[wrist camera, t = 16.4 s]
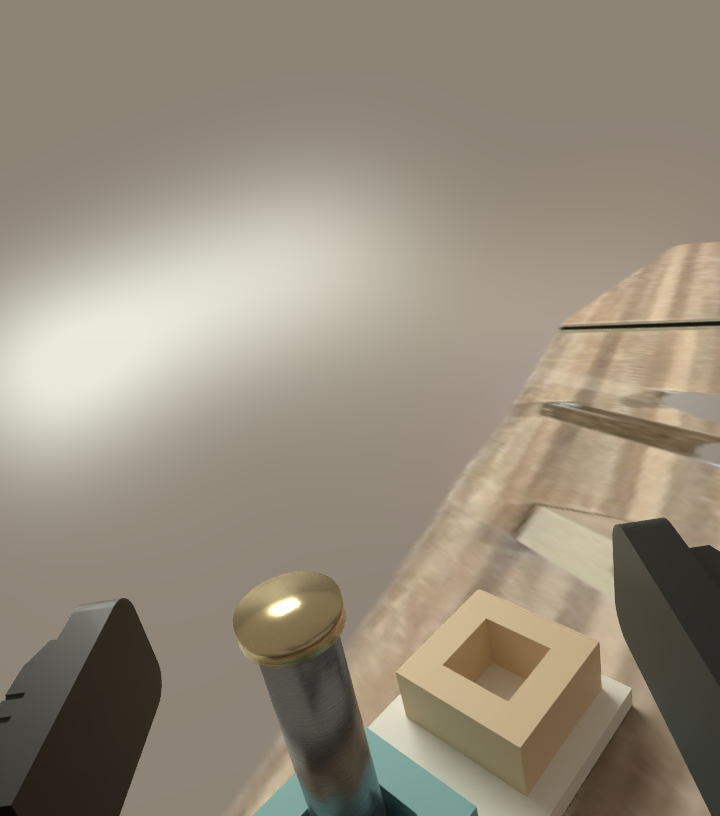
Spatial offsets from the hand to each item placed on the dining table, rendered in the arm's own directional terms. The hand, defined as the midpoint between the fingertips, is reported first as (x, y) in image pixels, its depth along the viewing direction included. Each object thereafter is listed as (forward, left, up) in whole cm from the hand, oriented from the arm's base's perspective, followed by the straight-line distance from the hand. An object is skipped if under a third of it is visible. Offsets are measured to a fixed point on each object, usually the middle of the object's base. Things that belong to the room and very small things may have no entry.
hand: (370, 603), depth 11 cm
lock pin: (-5, -13, -28) cm, 32 cm away
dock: (-11, -13, -30) cm, 34 cm away
